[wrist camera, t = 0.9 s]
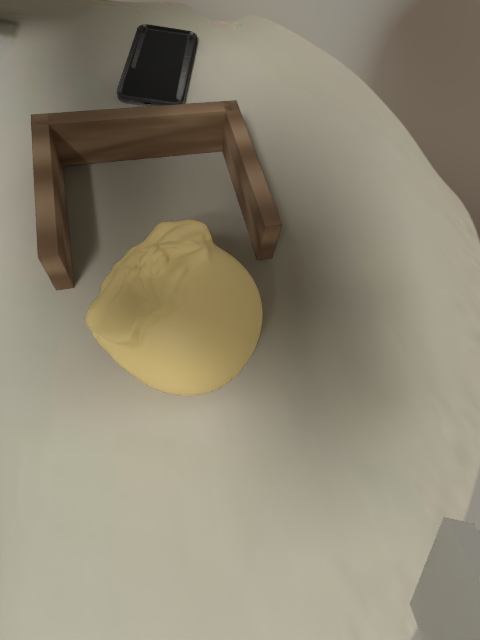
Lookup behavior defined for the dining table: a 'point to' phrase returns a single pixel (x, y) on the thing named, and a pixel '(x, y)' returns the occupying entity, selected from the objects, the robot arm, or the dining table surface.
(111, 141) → the bay
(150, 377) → the sculpture
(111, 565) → the dining table surface
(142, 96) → the phone
